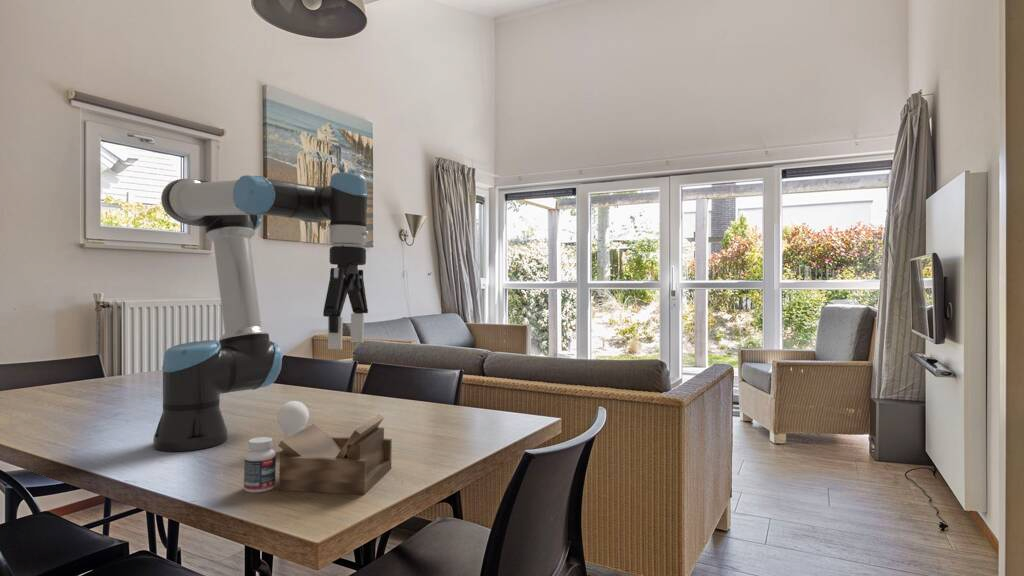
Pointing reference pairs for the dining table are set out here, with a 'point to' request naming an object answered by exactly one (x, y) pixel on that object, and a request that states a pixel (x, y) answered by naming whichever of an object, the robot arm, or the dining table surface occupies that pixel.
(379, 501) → the dining table surface
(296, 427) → the light bulb
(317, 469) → the wooden box with flaps
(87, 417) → the dining table surface
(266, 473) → the pill bottle
